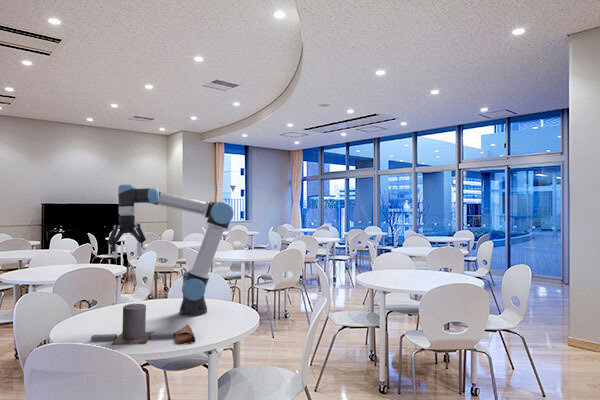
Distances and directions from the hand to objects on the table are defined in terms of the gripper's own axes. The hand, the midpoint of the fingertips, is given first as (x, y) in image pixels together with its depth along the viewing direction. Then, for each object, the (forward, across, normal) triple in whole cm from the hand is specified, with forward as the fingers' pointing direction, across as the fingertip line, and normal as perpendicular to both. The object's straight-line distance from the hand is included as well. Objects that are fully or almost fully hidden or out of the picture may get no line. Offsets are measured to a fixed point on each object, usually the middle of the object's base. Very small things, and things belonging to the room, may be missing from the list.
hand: (127, 256), depth 206 cm
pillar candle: (+34, +13, +24) cm, 43 cm away
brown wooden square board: (+34, +14, +24) cm, 44 cm away
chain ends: (+34, +14, +24) cm, 44 cm away
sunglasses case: (+36, 0, +41) cm, 54 cm away
